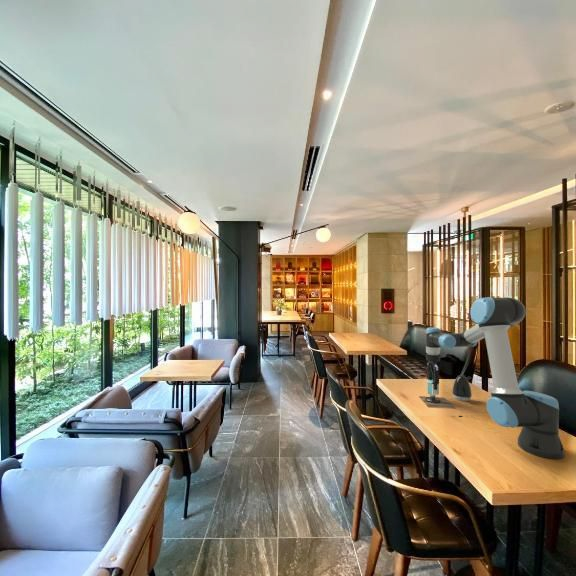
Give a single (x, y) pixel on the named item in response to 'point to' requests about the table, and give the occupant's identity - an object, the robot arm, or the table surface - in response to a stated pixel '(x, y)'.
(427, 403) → the board
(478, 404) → the table surface
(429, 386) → the cap
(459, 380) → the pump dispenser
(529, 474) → the table surface
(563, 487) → the table surface
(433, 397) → the post
